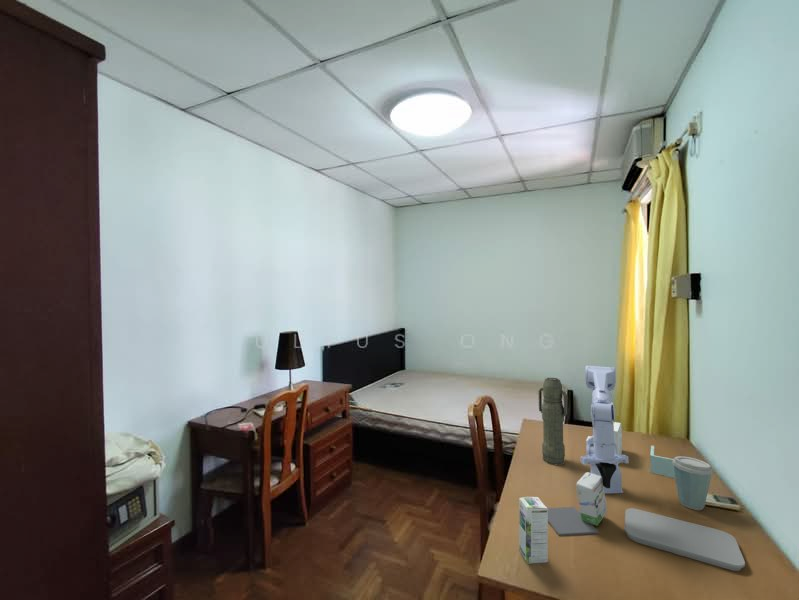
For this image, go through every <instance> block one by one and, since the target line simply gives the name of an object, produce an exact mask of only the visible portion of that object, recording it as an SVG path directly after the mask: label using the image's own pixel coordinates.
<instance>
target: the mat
mask: <svg viewBox="0 0 799 600" xmlns="http://www.w3.org/2000/svg"><path fill="white" fill-rule="evenodd" d="M547 508H548V524H549V525H550V527H551V528H552V530H554V532H555V533H556V535H558V536H559V537H563V536H564V537H565V536H579V535H581V536H584V535H597V534H598V535H599V531H598V529H597V528H595V527H594V525H593V524H590V523H587V522H585V521H582V519H581V513H580V510H578V509H577V508H576V507H575V506H563V507H562V506H561V507H547Z"/></svg>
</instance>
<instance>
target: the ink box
mask: <svg viewBox="0 0 799 600" xmlns="http://www.w3.org/2000/svg"><path fill="white" fill-rule="evenodd" d="M575 486H576V487H575V488H576V492H577V498H578V505H579V512H580V513H581V519H582V521H585V522H587V523H590V524H591V525H592V526H597V527H598V526H599V524H600V523H601V521H602V520H603V518H604V517H605V515H606V514H607V512H608V508H607V500H606V494H605V493H604V486H603V479H602V476H599V475H595V474H592V473H591V472H589V471H588V472H585V473H584V474H583V475H582V476H581V478H580V479H579V480H578V481H577V482H576V483H575Z"/></svg>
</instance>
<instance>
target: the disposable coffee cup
mask: <svg viewBox="0 0 799 600" xmlns="http://www.w3.org/2000/svg"><path fill="white" fill-rule="evenodd" d="M672 459H673V461H672V463H673V466H674V472H675V478H674V479H675V485H676V489H677V490H676V491H677V498H678V502H679V504H681V506H683V507H686V508H688V509H691V510H695V511H702V510H703V509H704V507H706V502H707V498H708V492H709V488H710V483H711V478H712V475H713V474H714V469H713V467H712V466H711V465H710V464H709V463H707V462H705V461H703V460H701V459H697V458H695V457H689V456H679V455H678V456H675V457H674V458H672Z"/></svg>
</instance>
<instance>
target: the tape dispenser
mask: <svg viewBox="0 0 799 600" xmlns="http://www.w3.org/2000/svg"><path fill="white" fill-rule="evenodd" d="M612 422H613V423H614V421H612ZM622 427H623V426H622V423H621V422H618V421H617V422H616V421H615V423H614V442H615V443H616V446H617V455H622V452H623V429H622ZM591 436H592V435H591ZM591 436H589V435H588V436H587V438H586V440H585V445H586V444H587V440H588V438H589V437H591ZM592 444H594V443H592ZM585 454H586V455H585V456H587V451H586V450H585ZM619 464H620V463H617V465H618V466H619Z"/></svg>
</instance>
